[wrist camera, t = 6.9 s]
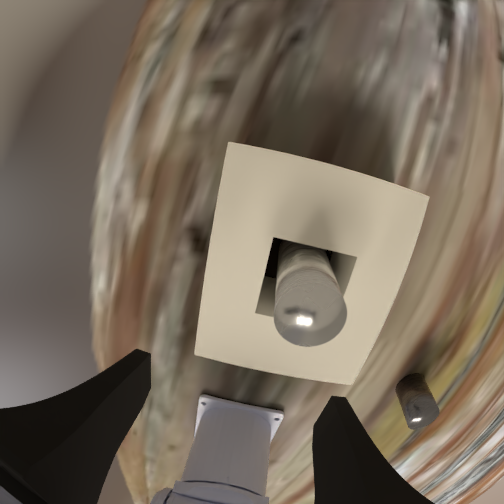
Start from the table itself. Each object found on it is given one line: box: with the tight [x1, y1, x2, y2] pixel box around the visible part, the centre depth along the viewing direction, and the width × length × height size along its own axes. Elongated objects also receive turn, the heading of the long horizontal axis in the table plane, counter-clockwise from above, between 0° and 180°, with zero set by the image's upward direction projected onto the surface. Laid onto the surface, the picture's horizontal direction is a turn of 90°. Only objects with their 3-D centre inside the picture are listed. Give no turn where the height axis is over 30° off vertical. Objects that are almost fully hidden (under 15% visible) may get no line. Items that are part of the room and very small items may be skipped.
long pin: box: [274, 239, 347, 347], centre depth 15 cm, size 3×3×8 cm
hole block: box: [194, 142, 429, 385], centre depth 16 cm, size 12×10×5 cm
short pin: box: [396, 373, 439, 429], centre depth 19 cm, size 3×3×4 cm
